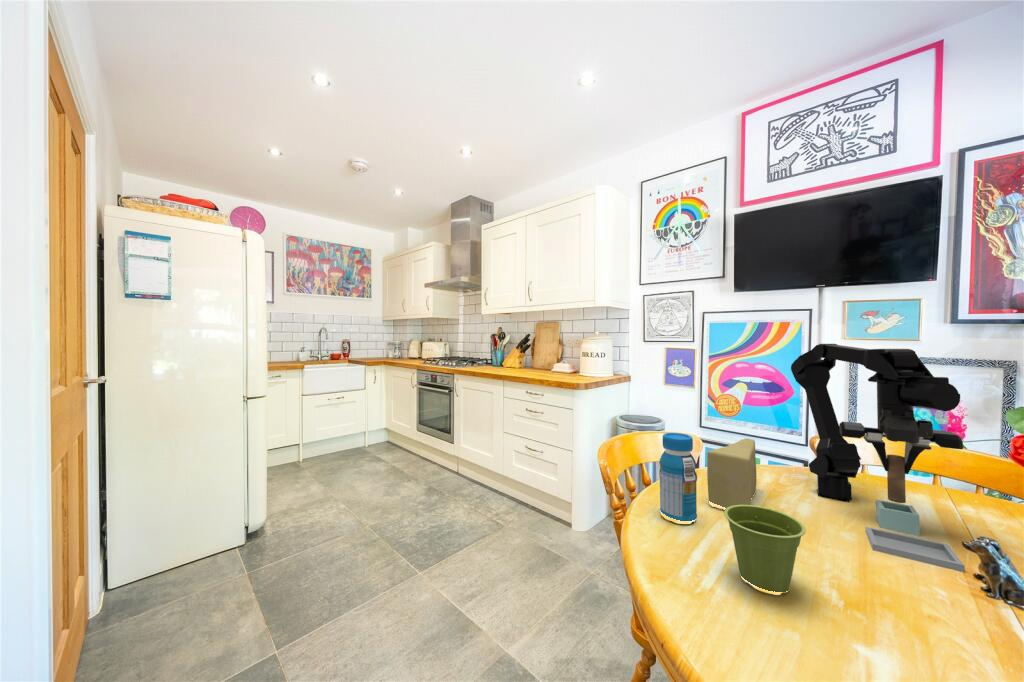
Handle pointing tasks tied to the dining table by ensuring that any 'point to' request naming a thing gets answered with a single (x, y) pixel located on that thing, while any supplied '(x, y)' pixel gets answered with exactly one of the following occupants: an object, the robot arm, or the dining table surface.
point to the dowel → (896, 478)
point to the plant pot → (765, 545)
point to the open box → (897, 517)
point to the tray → (914, 548)
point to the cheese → (732, 474)
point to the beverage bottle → (678, 478)
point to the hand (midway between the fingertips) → (896, 472)
